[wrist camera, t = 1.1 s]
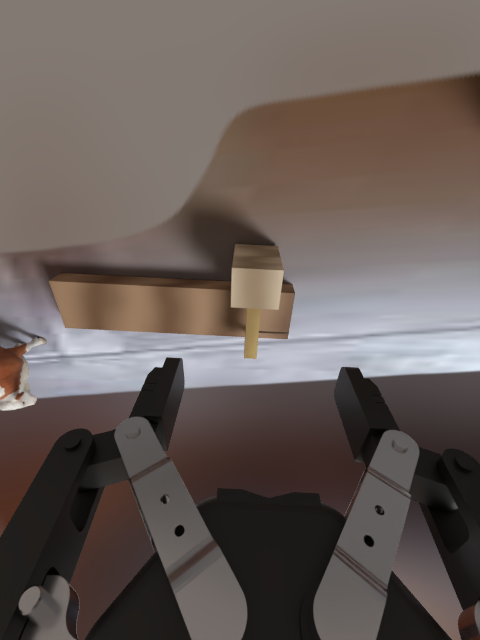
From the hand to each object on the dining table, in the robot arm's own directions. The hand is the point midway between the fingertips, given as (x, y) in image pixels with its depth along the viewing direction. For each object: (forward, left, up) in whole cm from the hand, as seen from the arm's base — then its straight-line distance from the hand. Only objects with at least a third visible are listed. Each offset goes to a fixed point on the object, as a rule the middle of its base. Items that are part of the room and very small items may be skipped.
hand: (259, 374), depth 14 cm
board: (+8, +5, -16) cm, 18 cm away
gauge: (0, +3, -16) cm, 16 cm away
